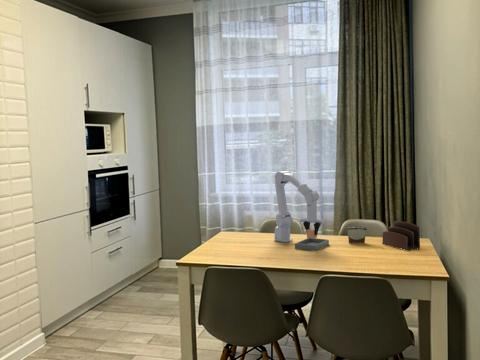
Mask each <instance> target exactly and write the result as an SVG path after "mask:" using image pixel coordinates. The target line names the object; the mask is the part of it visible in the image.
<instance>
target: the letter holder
mask: <svg viewBox="0 0 480 360" xmlns="http://www.w3.org/2000/svg"><path fill="white" fill-rule="evenodd" d="M420 232H421V231H420V226H419V225H416V224H414V223H410V222H407V221H402V220H401V221H399V220H398V221H396V220H395V221H394V222H393V226H388V229H387V230H386V231H383V232H382V245H384V244H385V245H384V246H388V245H389V247H391V246H393V247H392V248H395V247H397V248H396V249H399V248H402V249H405V250H404V251H406V250H409V251H412V250H411V249H416V250H418V249H417V248H420V249H421V243H420V242H421V237H420V235H421V234H420ZM402 249H401V250H402Z"/></svg>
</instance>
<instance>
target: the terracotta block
mask: <svg viewBox="0 0 480 360" xmlns="http://www.w3.org/2000/svg"><path fill="white" fill-rule="evenodd" d="M307 238H311V239H314V238H318V234H317V235H315V229H314V228H311V227H310V229H307V232H306V239H307Z"/></svg>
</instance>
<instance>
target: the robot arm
mask: <svg viewBox="0 0 480 360" xmlns="http://www.w3.org/2000/svg"><path fill="white" fill-rule="evenodd" d="M288 183H291V184H292V185H293V186H295V187H296V188H297V191H298V192H299V193H300V194H301V195H302V197H304V200H305V201H306V217H305V218H304V217H300V219H299V222H301V223H302V222H303V223H302V225H303V227H304V229H305V233H307V229H310V228H311V223H313V227H314V228H313V229H315V235H317V236H318V233H319V229H320V227H321V225H323V224H325V219H319V218H318V206H317V204H318V203H317V202H318V200H319V198H320V195H319V193H318V192H317V191H316V190H313V189H312V188H310V187H308V185H307V184H306V183H302V182H300V180H299V179H297V177H295V175H294V173H293V172H292V171H290V170H284V171H277V172H276V173H275V175H274V187H275V194H276V201H277V208H278V209H277V210H278V213H277V214H276V215H275V223H276V226H275V227H274V240H273V241H275V242H283V243H288V242H291V241H293V240H294V239H293V238H291V226H292V225H293V217H292V214H291V212H290V211H288V205H287V198H286V191H285V186H286V184H288Z"/></svg>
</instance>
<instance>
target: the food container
mask: <svg viewBox="0 0 480 360" xmlns="http://www.w3.org/2000/svg"><path fill="white" fill-rule="evenodd" d="M345 231H347V238H348V244H365V243H366V234H367V231H368V228H367V226H365V225H356V224H355V225H353V224H352V225H348V226H347V227H346V230H345Z"/></svg>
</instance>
